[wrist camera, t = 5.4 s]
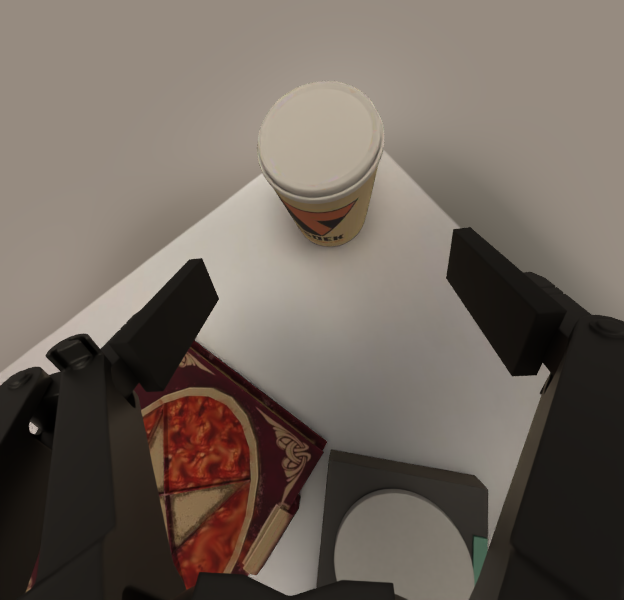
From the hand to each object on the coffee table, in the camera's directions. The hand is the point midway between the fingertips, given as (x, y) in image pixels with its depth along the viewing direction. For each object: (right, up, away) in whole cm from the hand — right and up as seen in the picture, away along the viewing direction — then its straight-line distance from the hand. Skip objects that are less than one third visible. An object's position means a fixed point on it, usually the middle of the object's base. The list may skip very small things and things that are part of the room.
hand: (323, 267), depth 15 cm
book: (-15, -22, +14) cm, 30 cm away
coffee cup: (+2, +8, +16) cm, 18 cm away
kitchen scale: (+7, -23, +10) cm, 26 cm away
